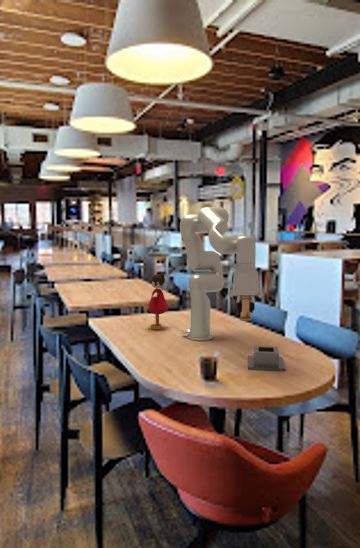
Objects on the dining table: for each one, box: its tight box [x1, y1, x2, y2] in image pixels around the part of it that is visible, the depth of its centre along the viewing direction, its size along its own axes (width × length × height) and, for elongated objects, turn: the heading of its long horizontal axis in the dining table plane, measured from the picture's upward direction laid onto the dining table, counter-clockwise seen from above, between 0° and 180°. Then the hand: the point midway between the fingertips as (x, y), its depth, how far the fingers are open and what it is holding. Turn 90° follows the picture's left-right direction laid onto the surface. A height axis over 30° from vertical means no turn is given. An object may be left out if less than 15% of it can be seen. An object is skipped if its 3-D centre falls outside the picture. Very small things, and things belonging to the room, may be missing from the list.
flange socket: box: [247, 345, 286, 372], centre depth 167 cm, size 14×14×6 cm
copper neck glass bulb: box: [239, 296, 252, 322], centre depth 171 cm, size 5×5×10 cm
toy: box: [147, 272, 169, 330], centre depth 222 cm, size 27×11×30 cm, turn 178°
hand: (245, 311), depth 171 cm, fingers closed on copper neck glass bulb, 4 cm apart
